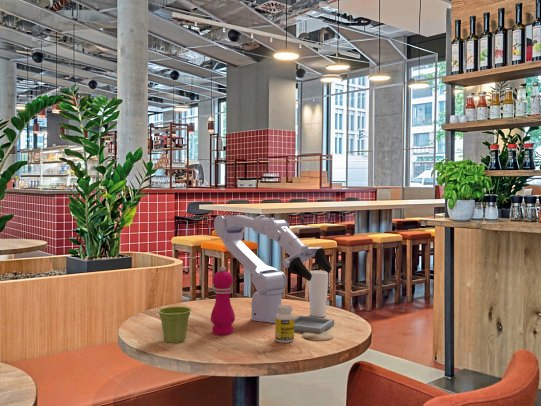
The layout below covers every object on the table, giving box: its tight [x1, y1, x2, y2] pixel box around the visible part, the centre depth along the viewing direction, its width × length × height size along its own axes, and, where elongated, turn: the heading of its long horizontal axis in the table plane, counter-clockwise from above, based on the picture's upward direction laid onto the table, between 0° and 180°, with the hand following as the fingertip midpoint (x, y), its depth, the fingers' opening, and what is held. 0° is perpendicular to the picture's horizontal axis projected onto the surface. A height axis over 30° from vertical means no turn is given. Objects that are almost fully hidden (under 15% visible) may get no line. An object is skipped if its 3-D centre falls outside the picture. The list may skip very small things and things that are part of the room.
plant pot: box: [157, 306, 192, 344], centre depth 150 cm, size 9×9×9 cm
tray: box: [294, 314, 335, 333], centre depth 164 cm, size 12×12×2 cm
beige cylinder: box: [307, 269, 329, 318], centre depth 179 cm, size 7×7×15 cm
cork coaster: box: [302, 331, 334, 342], centre depth 154 cm, size 9×9×1 cm
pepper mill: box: [210, 265, 236, 336], centre depth 158 cm, size 7×7×20 cm
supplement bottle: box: [274, 304, 295, 344], centre depth 150 cm, size 5×5×10 cm
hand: (320, 274), depth 157 cm, fingers open, 7 cm apart
